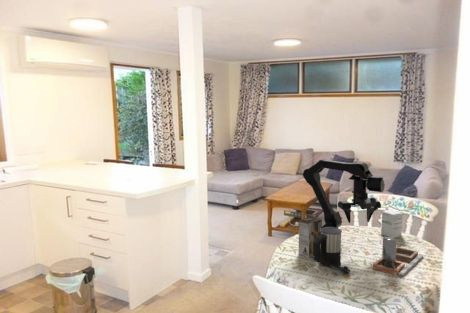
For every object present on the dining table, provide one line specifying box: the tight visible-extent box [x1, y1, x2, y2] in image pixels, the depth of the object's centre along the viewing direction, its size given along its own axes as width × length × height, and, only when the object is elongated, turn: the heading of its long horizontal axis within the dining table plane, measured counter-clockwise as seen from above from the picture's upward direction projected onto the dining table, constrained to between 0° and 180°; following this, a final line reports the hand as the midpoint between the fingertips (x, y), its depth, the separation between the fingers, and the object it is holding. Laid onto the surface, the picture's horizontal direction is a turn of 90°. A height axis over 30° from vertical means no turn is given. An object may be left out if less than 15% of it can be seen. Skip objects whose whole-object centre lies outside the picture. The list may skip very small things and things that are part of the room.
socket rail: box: [372, 246, 424, 278], centre depth 157 cm, size 27×12×2 cm, turn 137°
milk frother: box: [312, 227, 351, 274], centre depth 152 cm, size 14×16×15 cm
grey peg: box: [381, 236, 398, 269], centre depth 151 cm, size 5×5×12 cm
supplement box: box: [380, 209, 404, 239], centre depth 191 cm, size 7×7×13 cm
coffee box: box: [298, 216, 323, 259], centre depth 167 cm, size 9×6×16 cm
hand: (358, 222), depth 171 cm, fingers open, 9 cm apart
